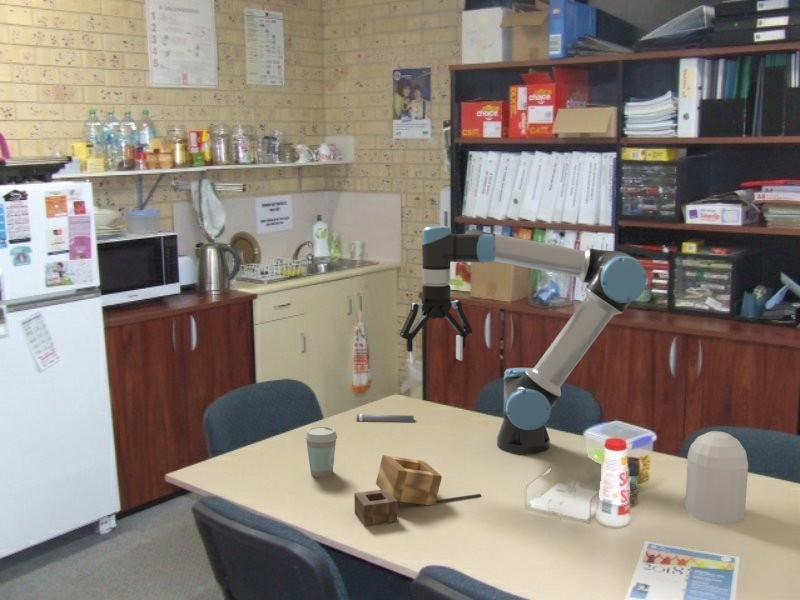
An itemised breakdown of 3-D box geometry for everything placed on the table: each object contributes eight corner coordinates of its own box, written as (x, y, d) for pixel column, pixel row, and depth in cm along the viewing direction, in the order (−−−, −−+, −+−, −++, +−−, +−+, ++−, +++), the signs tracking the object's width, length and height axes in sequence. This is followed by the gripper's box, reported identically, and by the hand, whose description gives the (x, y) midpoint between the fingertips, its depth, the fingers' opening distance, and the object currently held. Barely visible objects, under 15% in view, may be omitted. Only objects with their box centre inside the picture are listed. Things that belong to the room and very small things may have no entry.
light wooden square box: (417, 489, 221) (424, 461, 220) (434, 505, 210) (442, 476, 210) (375, 483, 217) (382, 455, 216) (391, 500, 206) (398, 470, 205)
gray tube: (413, 426, 273) (356, 424, 275) (413, 421, 276) (358, 419, 277) (412, 418, 272) (356, 417, 274) (413, 413, 274) (357, 412, 276)
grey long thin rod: (480, 496, 215) (480, 493, 215) (481, 497, 214) (481, 494, 214) (417, 505, 210) (417, 502, 210) (418, 506, 209) (418, 503, 209)
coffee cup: (332, 480, 226) (332, 436, 224) (301, 478, 228) (300, 434, 226) (341, 469, 234) (340, 426, 232) (311, 467, 236) (310, 425, 234)
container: (716, 530, 195) (720, 445, 192) (672, 509, 207) (676, 428, 204) (757, 518, 201) (763, 436, 198) (712, 498, 213) (717, 420, 210)
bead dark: (386, 508, 208) (386, 488, 207) (397, 521, 200) (397, 501, 200) (354, 513, 205) (354, 493, 204) (364, 526, 198) (364, 505, 197)
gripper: (473, 279, 239) (472, 354, 242) (387, 284, 231) (388, 361, 234) (484, 283, 232) (483, 360, 235) (396, 288, 224) (397, 368, 227)
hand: (436, 361), depth 235 cm, fingers open, 13 cm apart
